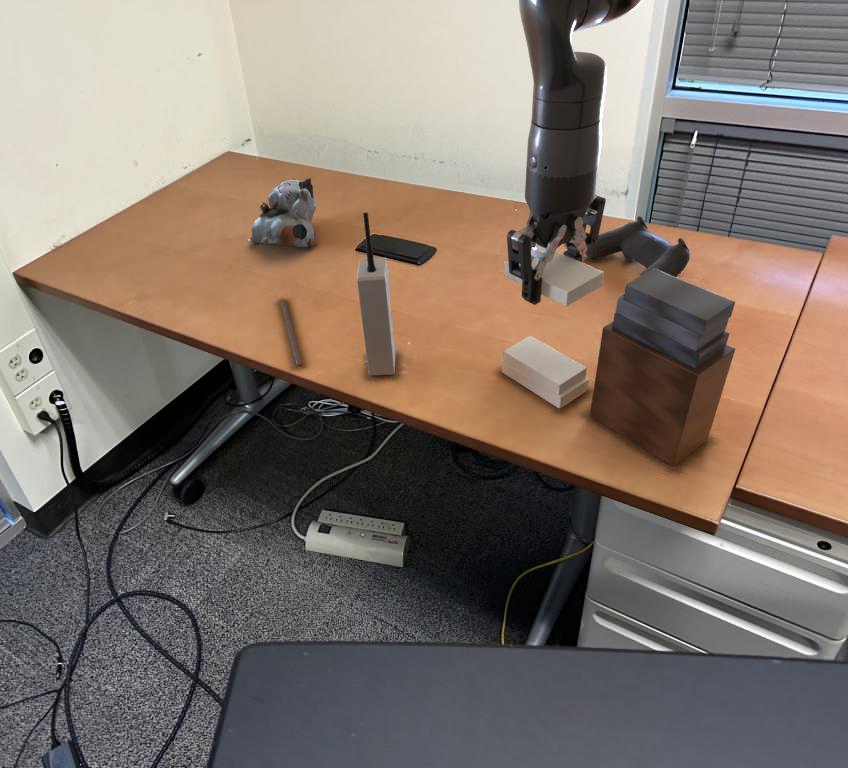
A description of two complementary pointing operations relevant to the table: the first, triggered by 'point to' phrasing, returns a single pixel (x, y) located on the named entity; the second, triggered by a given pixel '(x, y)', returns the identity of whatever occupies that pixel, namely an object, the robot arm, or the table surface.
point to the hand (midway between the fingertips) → (551, 290)
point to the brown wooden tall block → (663, 365)
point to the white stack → (545, 371)
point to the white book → (564, 278)
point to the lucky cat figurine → (287, 216)
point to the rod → (291, 333)
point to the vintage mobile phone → (376, 310)
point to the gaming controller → (642, 248)
